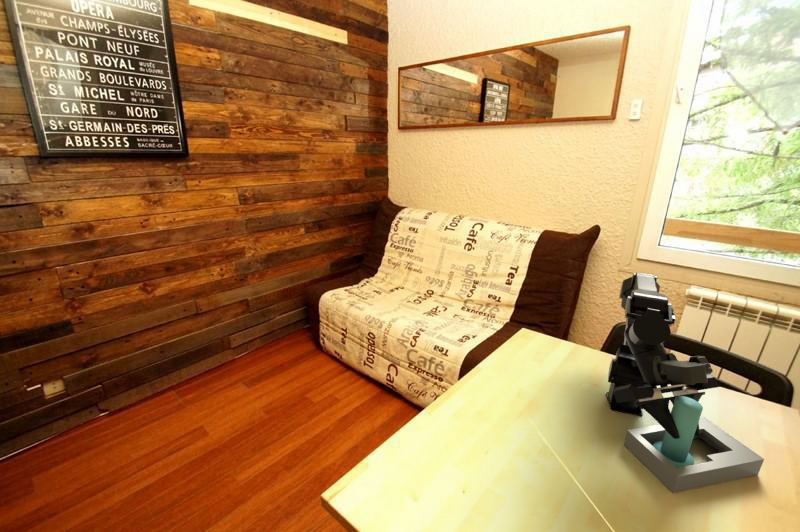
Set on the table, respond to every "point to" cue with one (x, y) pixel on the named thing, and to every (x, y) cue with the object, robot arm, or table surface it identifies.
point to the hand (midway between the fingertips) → (686, 436)
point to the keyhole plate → (718, 469)
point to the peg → (681, 432)
